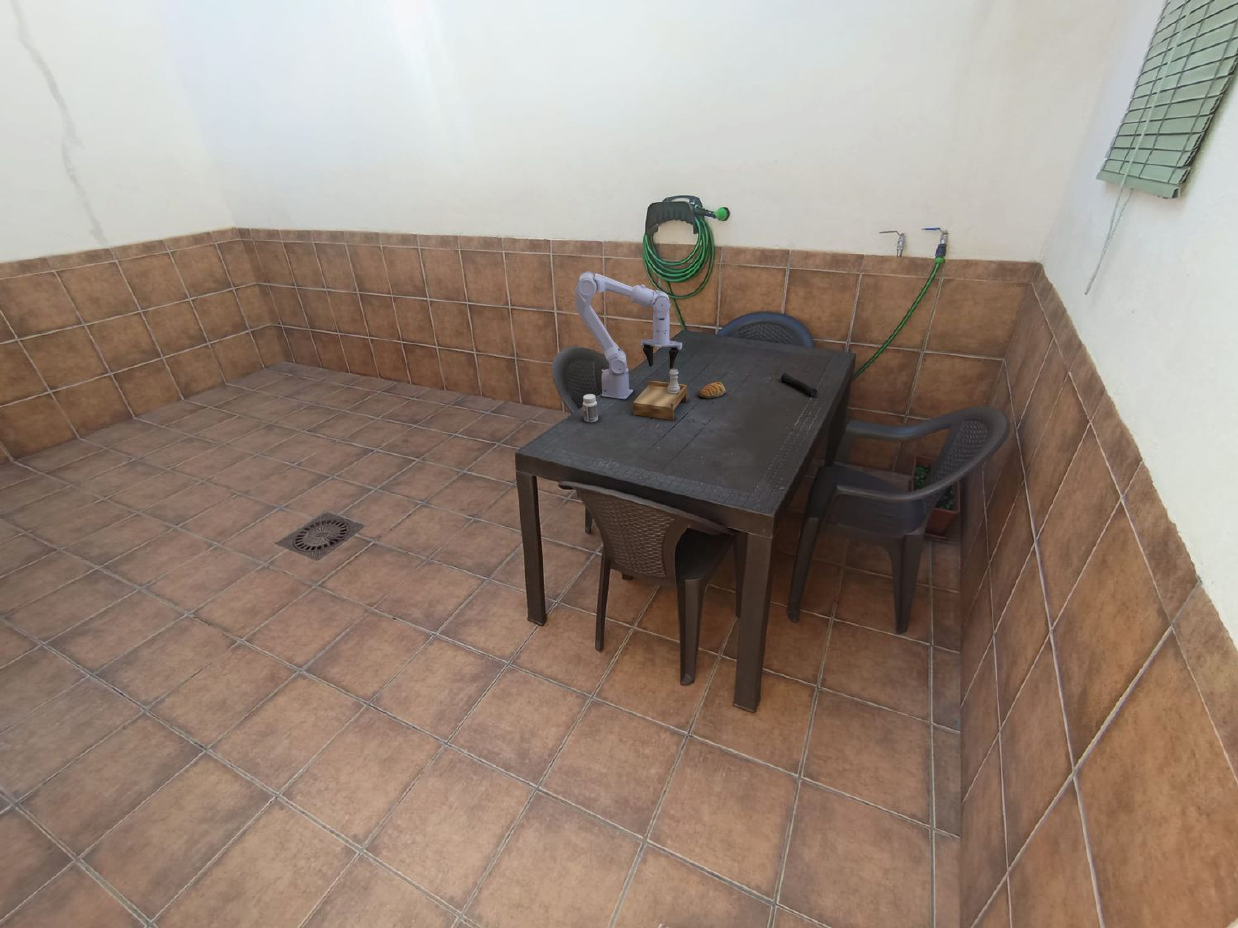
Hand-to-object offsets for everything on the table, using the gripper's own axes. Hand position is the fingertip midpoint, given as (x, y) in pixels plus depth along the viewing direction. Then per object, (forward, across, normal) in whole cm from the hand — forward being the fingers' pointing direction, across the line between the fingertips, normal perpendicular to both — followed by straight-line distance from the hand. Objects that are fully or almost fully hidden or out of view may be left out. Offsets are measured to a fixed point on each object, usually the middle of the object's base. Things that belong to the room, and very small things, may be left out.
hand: (661, 366), depth 198 cm
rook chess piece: (+6, +7, -8) cm, 12 cm away
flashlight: (+10, +46, +18) cm, 50 cm away
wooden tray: (+10, +4, -12) cm, 16 cm away
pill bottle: (+10, -15, -28) cm, 33 cm away
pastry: (+10, +18, +4) cm, 21 cm away
